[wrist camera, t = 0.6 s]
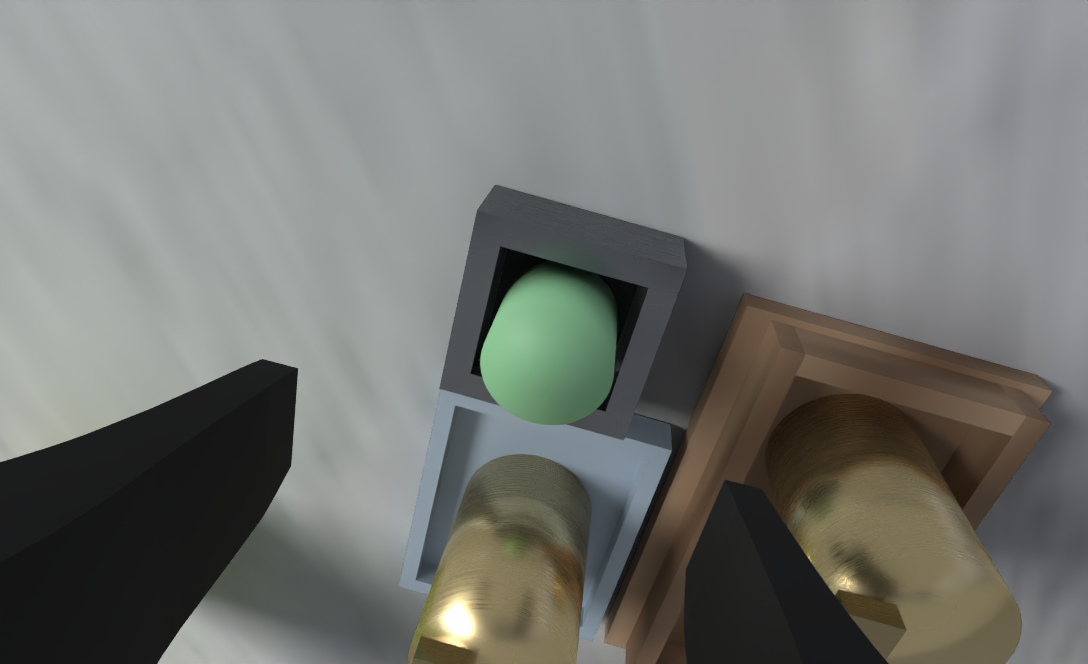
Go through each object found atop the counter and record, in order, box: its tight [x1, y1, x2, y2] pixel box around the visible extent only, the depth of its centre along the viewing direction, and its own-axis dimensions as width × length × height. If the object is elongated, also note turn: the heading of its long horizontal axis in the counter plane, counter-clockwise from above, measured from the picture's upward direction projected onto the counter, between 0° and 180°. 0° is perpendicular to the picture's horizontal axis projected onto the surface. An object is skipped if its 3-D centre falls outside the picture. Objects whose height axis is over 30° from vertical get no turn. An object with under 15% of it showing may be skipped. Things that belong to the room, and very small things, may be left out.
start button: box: [480, 261, 618, 425], centre depth 17 cm, size 3×3×3 cm
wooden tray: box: [604, 293, 1052, 664], centre depth 21 cm, size 8×13×2 cm, turn 166°
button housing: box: [439, 185, 687, 440], centre depth 19 cm, size 5×5×2 cm
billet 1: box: [408, 454, 592, 664], centre depth 19 cm, size 4×4×7 cm
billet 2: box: [765, 394, 1022, 664], centre depth 17 cm, size 4×4×7 cm
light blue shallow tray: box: [398, 389, 672, 641], centre depth 22 cm, size 7×8×1 cm
